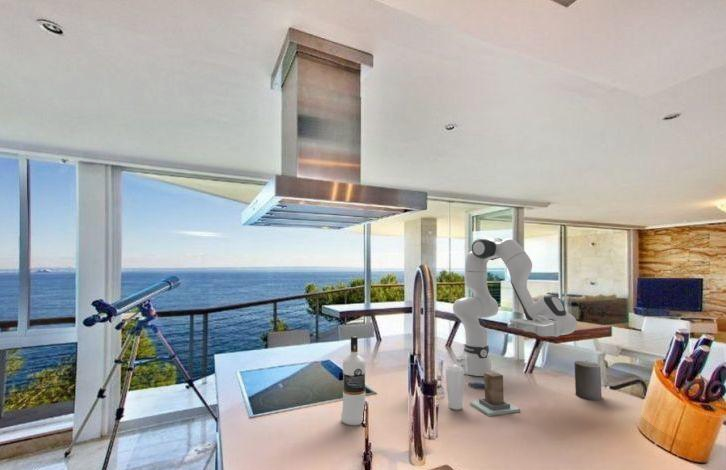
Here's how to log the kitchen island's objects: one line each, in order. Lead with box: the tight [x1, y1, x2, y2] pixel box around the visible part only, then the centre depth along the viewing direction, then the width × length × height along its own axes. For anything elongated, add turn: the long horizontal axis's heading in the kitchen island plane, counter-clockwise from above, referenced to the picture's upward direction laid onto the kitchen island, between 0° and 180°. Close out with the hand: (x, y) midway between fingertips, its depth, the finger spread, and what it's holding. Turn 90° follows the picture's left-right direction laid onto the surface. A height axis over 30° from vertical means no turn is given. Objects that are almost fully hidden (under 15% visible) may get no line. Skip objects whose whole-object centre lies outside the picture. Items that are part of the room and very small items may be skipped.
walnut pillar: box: [483, 371, 505, 405], centre depth 144 cm, size 5×5×12 cm
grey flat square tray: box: [469, 397, 521, 417], centre depth 143 cm, size 12×14×2 cm
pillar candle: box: [574, 360, 603, 401], centre depth 156 cm, size 10×10×15 cm
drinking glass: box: [445, 365, 465, 411], centre depth 144 cm, size 7×7×15 cm
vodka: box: [340, 335, 366, 427], centre depth 132 cm, size 9×9×30 cm
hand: (516, 327), depth 152 cm, fingers open, 8 cm apart
